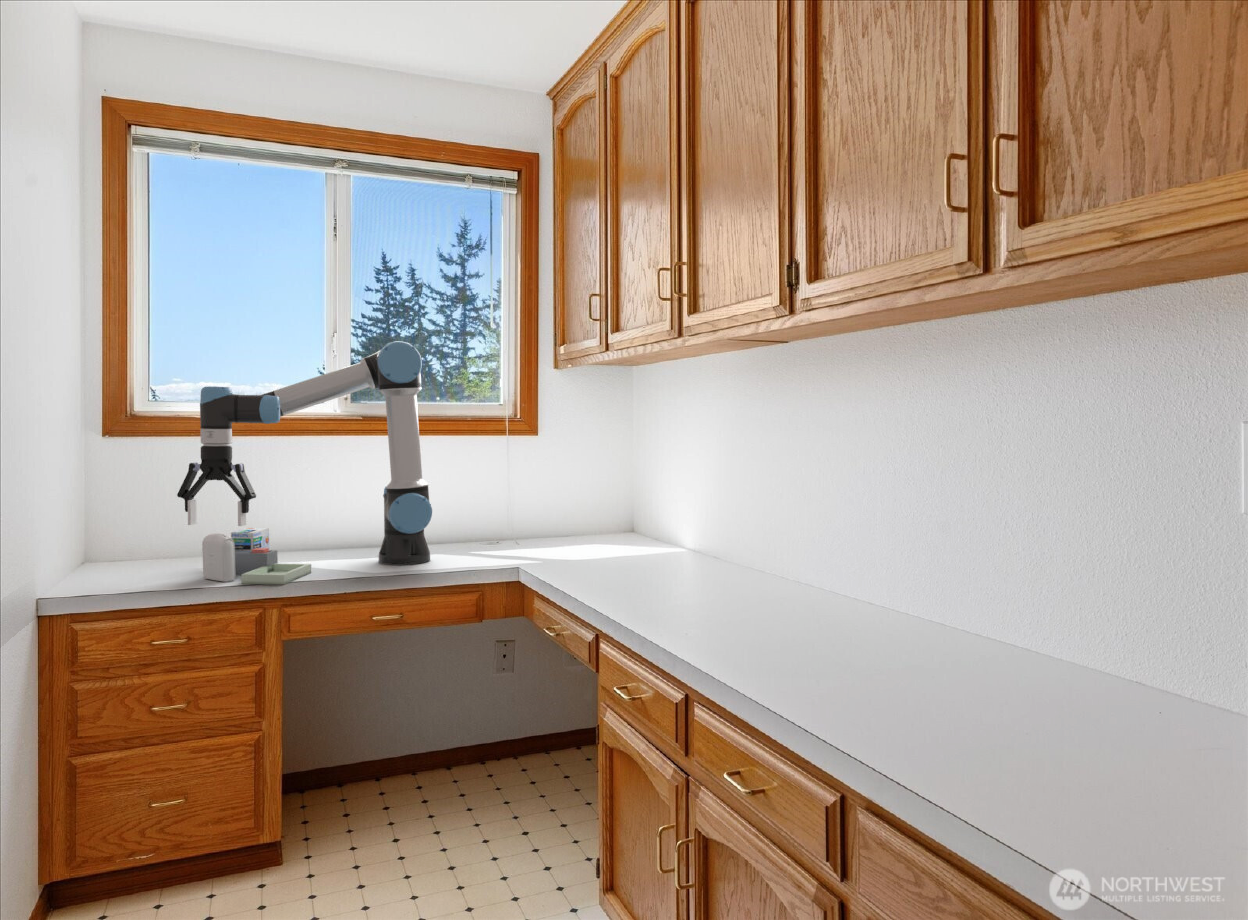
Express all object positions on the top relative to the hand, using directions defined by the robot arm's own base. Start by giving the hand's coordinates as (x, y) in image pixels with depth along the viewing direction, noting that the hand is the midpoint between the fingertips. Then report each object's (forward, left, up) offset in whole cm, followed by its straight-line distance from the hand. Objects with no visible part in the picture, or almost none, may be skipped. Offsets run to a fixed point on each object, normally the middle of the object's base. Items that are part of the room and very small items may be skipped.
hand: (217, 525), depth 223 cm
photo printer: (0, 0, -15) cm, 15 cm away
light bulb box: (+1, -19, -15) cm, 24 cm away
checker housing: (-3, -10, -15) cm, 18 cm away
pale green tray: (-15, -3, -15) cm, 21 cm away
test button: (-7, -10, -13) cm, 17 cm away
